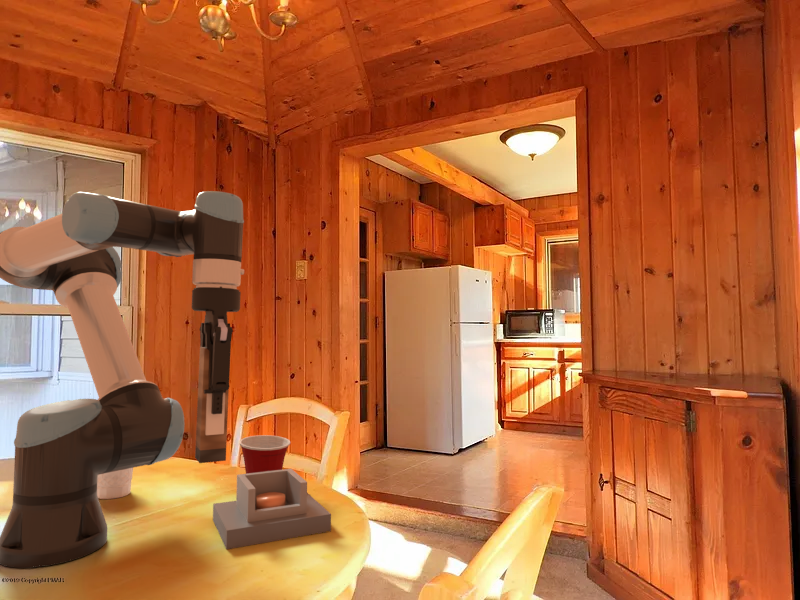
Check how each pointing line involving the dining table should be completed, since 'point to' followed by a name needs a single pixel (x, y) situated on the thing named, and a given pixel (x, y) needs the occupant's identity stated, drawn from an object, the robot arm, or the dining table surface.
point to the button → (270, 500)
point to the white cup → (114, 484)
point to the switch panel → (269, 511)
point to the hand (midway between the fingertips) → (211, 431)
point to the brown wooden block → (206, 445)
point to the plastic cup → (264, 453)
